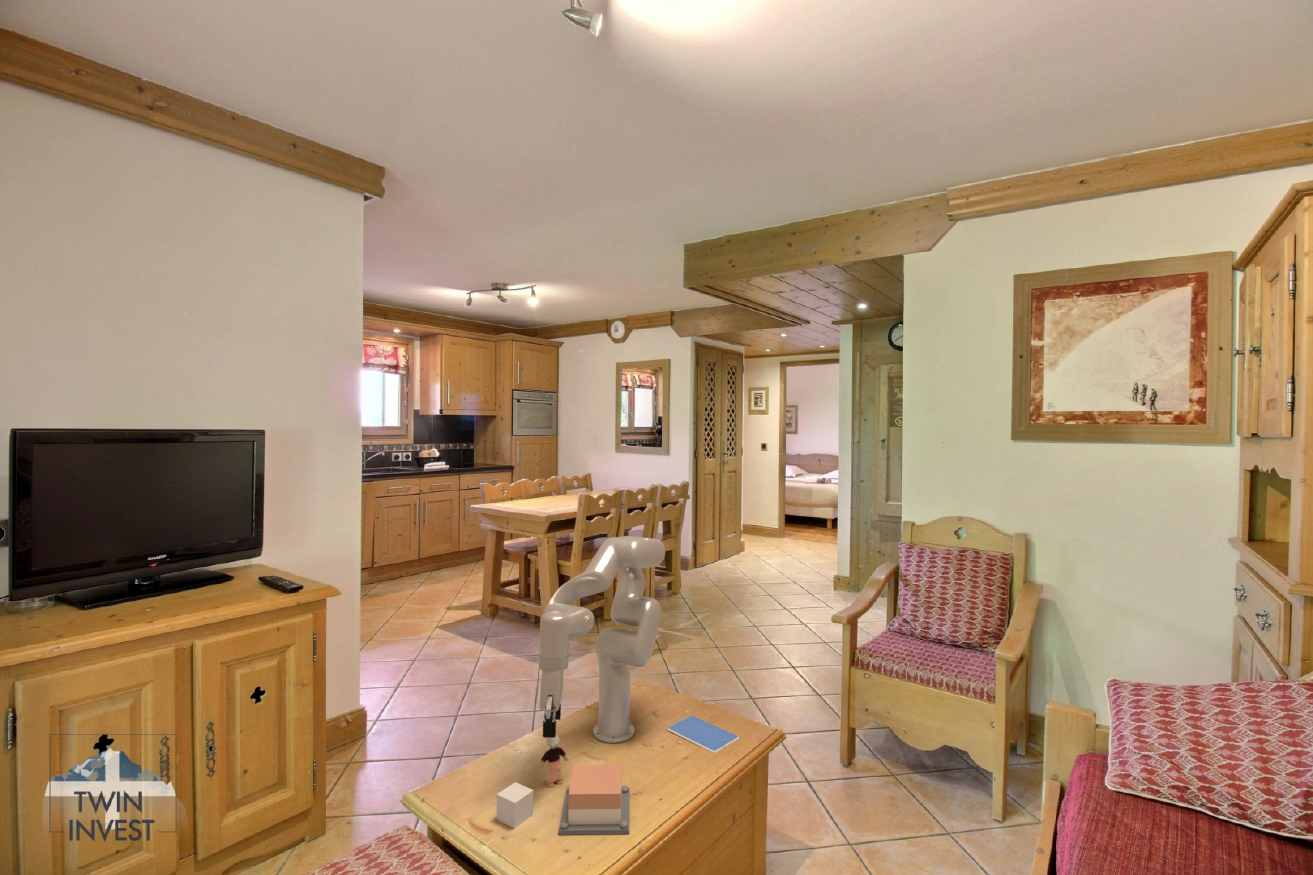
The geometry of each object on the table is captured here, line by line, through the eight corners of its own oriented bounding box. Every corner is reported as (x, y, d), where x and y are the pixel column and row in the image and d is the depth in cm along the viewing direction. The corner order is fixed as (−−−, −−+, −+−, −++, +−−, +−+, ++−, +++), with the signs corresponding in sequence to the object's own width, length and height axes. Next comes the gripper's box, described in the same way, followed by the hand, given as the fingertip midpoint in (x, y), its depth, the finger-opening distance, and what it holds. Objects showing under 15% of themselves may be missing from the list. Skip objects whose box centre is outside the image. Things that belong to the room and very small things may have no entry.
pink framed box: (566, 792, 150) (566, 760, 150) (629, 791, 151) (630, 760, 151) (558, 834, 134) (558, 799, 134) (629, 833, 135) (629, 798, 135)
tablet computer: (740, 740, 178) (740, 735, 178) (714, 756, 169) (714, 751, 169) (692, 718, 192) (692, 714, 192) (665, 731, 183) (665, 727, 183)
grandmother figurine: (560, 774, 158) (561, 726, 158) (569, 780, 155) (569, 732, 155) (535, 786, 153) (536, 736, 153) (544, 792, 150) (544, 742, 150)
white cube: (496, 819, 139) (496, 794, 139) (515, 806, 144) (515, 781, 144) (514, 829, 136) (515, 802, 136) (533, 815, 141) (533, 789, 141)
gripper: (544, 649, 162) (542, 712, 162) (533, 673, 145) (531, 744, 145) (571, 650, 162) (569, 713, 162) (564, 673, 145) (562, 744, 145)
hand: (551, 727), depth 153 cm, fingers open, 9 cm apart
